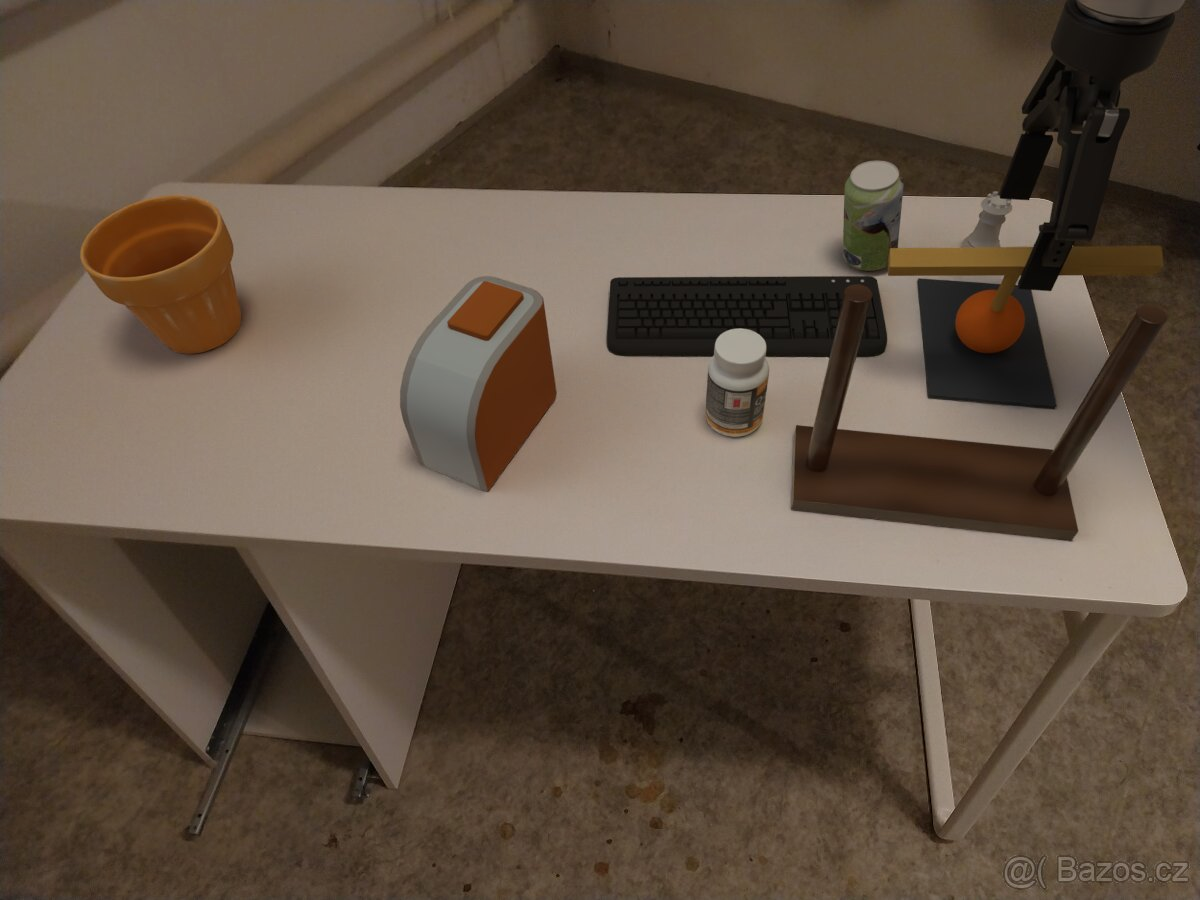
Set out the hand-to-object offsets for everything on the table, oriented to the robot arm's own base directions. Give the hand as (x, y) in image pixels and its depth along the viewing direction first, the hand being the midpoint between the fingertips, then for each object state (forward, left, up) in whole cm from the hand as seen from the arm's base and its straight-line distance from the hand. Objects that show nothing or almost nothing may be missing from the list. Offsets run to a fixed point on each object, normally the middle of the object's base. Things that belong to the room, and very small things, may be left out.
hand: (1023, 240), depth 78 cm
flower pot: (-8, +86, -13) cm, 87 cm away
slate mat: (0, 0, -13) cm, 13 cm away
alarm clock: (-18, +49, -13) cm, 54 cm away
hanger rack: (-20, +7, -13) cm, 25 cm away
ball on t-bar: (0, 0, -12) cm, 12 cm away
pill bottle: (-14, +25, -13) cm, 32 cm away
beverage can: (+12, +12, -13) cm, 21 cm away
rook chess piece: (+14, -1, -13) cm, 19 cm away
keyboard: (0, +25, -13) cm, 28 cm away
